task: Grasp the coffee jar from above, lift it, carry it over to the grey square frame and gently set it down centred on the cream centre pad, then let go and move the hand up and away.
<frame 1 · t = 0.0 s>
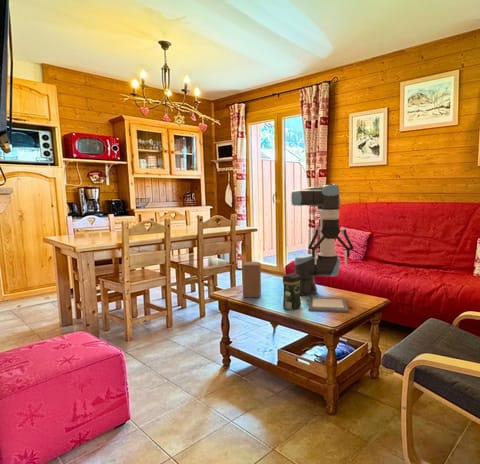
hand: (330, 264, 163), 28 cm above the table, tool pointing down, fingers open, 13 cm apart
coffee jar: (291, 307, 188), on the table
wooden block: (252, 296, 212), on the table
grey square frame: (327, 305, 190), on the table
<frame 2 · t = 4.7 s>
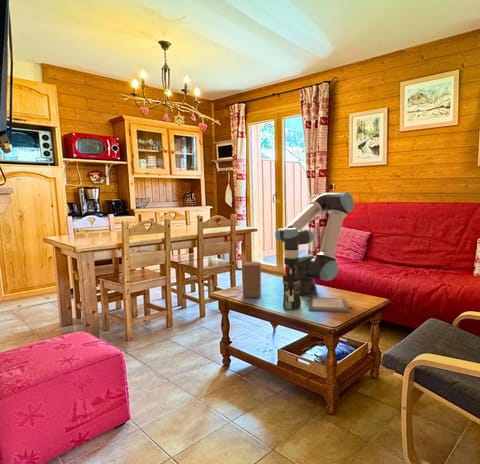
hand: (291, 298, 188), 5 cm above the table, tool pointing down, fingers closed on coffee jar, 9 cm apart
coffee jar: (291, 307, 188), on the table, touching gripper
everything else where it was.
when the fingers open (7 cm above the table, at t = 10.7 s): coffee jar stays where it is, resting on grey square frame.
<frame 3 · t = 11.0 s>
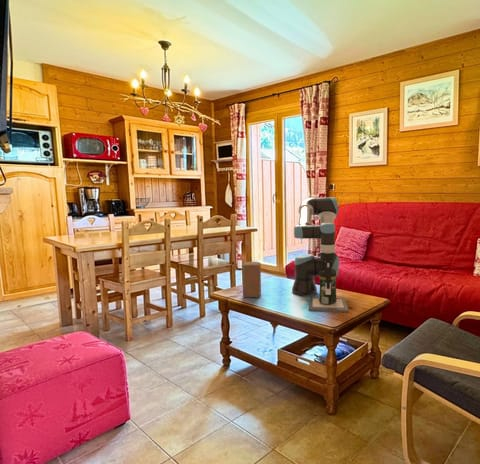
hand: (327, 290, 189), 8 cm above the table, tool pointing down, fingers open, 13 cm apart
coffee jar: (327, 303, 190), point 1 cm above the table, touching grey square frame
everything else where it was.
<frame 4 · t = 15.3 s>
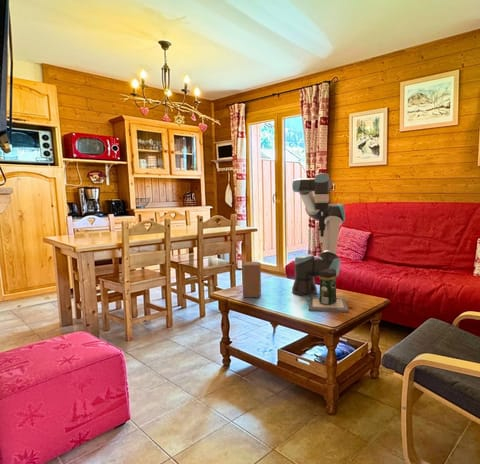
hand: (321, 240, 193), 35 cm above the table, tool pointing down, fingers open, 13 cm apart
nothing on the table moved.
at the end: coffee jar 0.2 cm off-centre on the grey square frame, point 1.3 cm above the grey square frame's base; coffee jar tilted 0°; the gripper is holding nothing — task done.
